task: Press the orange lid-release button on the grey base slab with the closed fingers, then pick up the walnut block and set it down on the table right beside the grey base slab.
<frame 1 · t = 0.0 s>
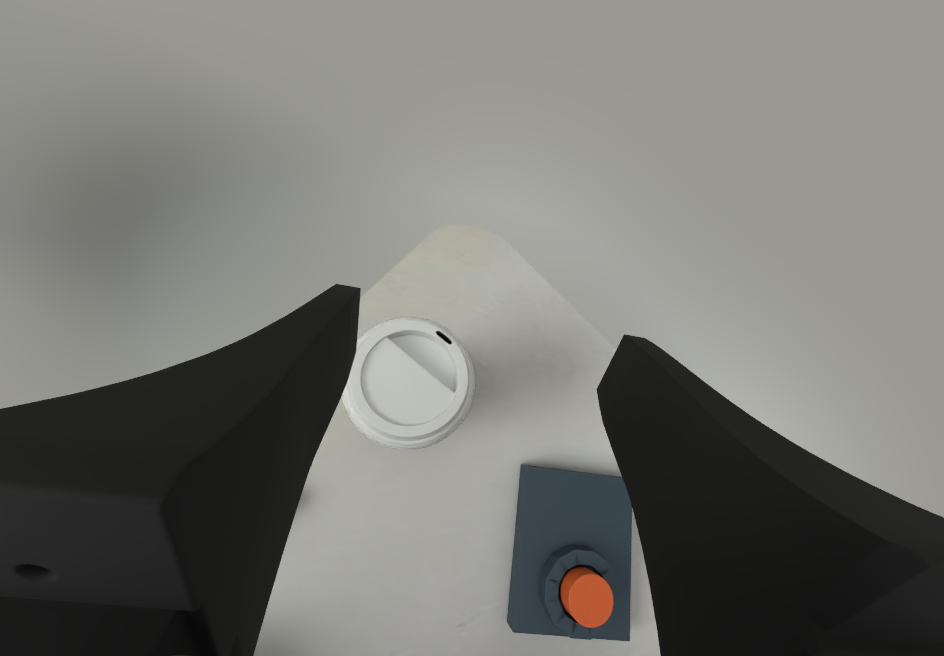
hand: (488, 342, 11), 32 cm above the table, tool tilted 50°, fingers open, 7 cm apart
lid button: (586, 596, 36), point 5 cm above the table, slide at 0.1 cm
coffee cup: (407, 398, 42), on the table
grey base slab: (567, 545, 41), on the table
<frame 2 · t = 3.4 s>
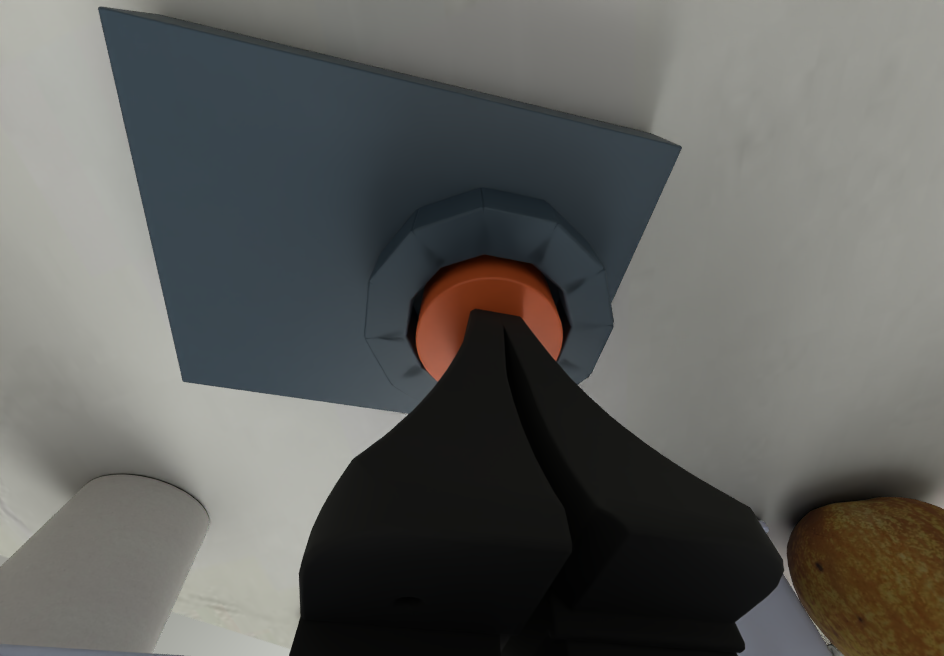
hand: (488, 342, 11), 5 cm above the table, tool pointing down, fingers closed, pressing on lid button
lid button: (487, 323, 12), point 4 cm above the table, slide at -1.0 cm, touching gripper
coffee cup: (149, 508, 23), on the table
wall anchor: (874, 643, 35), on the table
grey base slab: (401, 255, 15), on the table
fruit: (843, 513, 24), on the table
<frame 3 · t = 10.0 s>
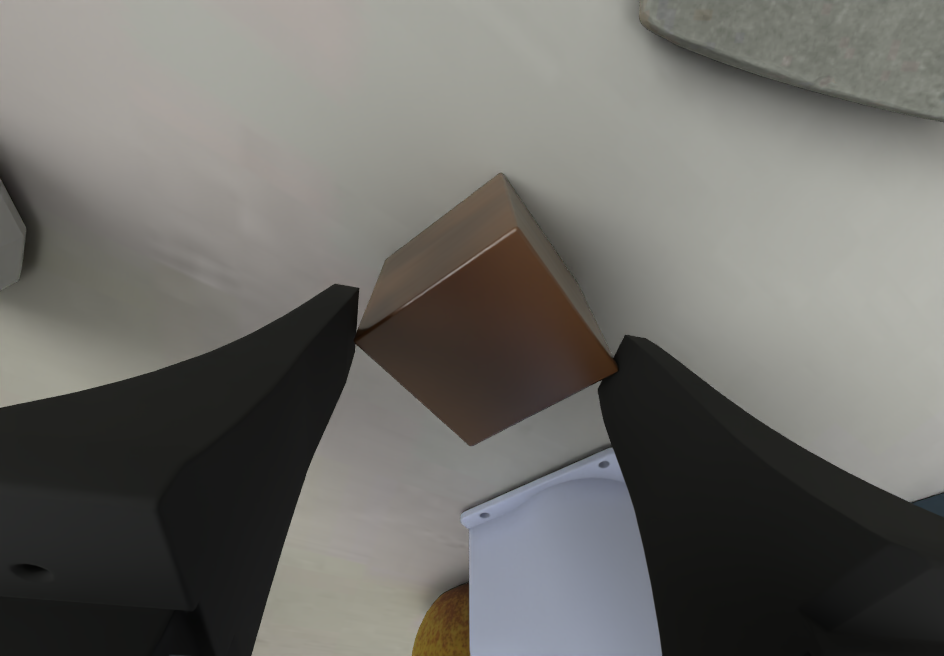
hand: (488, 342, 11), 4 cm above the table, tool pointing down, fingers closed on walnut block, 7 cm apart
walnut block: (483, 272, 15), on the table, touching gripper
fruit: (483, 593, 28), on the table
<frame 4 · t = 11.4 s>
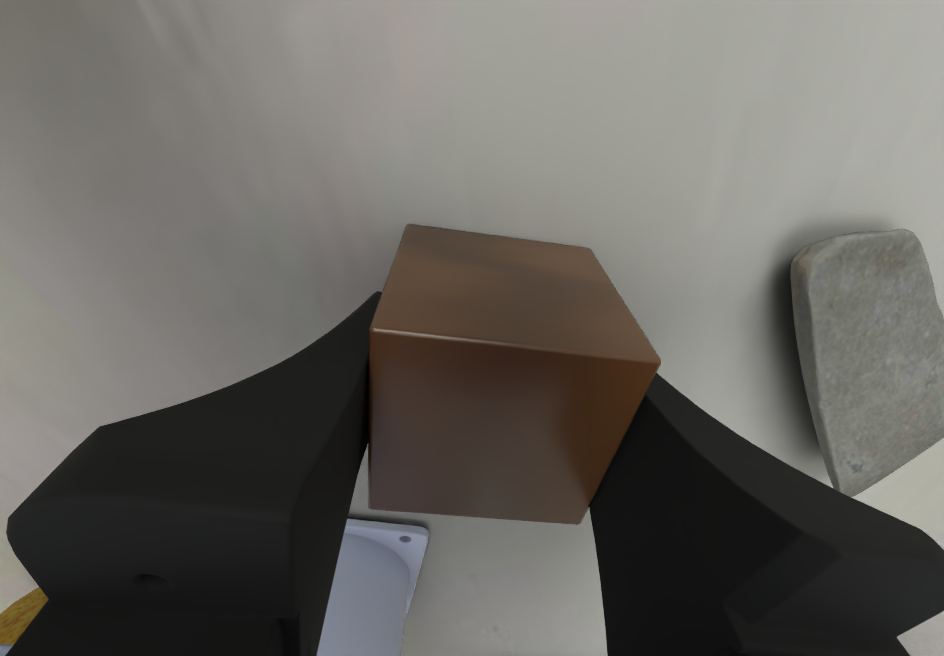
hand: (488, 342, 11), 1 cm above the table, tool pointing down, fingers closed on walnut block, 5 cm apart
walnut block: (485, 314, 12), on the table, touching gripper
coffee cup: (877, 589, 23), on the table
fruit: (139, 587, 22), on the table
when the fingers open (1 cm above the table, at t = 17.2 s): walnut block stays where it is, on the table.
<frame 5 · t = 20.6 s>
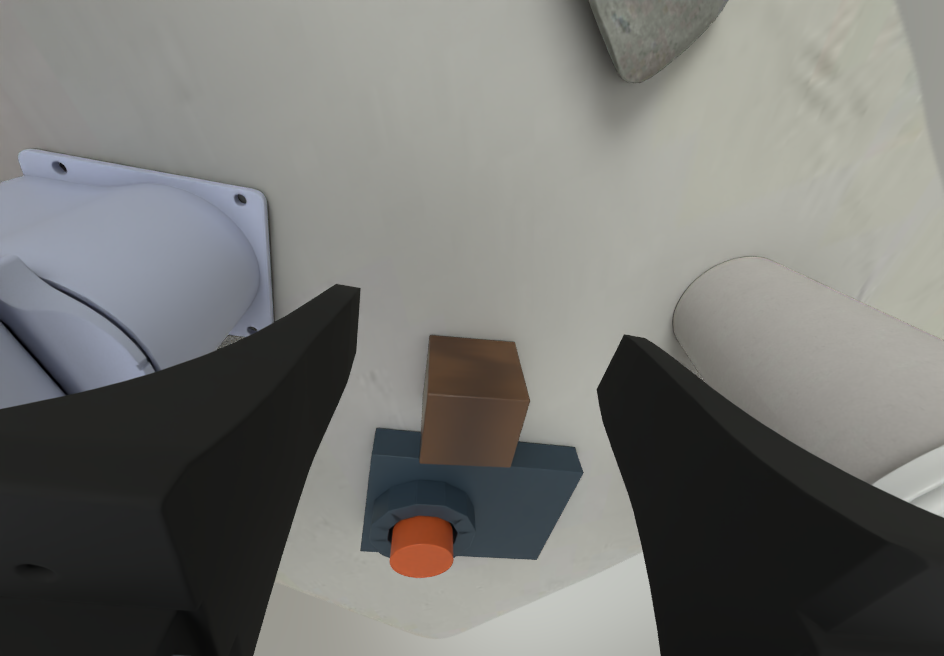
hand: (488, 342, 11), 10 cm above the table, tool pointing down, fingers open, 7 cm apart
walnut block: (467, 371, 25), on the table
lid button: (422, 545, 27), point 5 cm above the table, slide at 0.1 cm
coffee cup: (727, 306, 24), on the table
grey base slab: (464, 487, 31), on the table
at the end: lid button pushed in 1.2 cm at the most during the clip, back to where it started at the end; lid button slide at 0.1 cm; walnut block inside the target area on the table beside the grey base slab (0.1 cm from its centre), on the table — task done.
